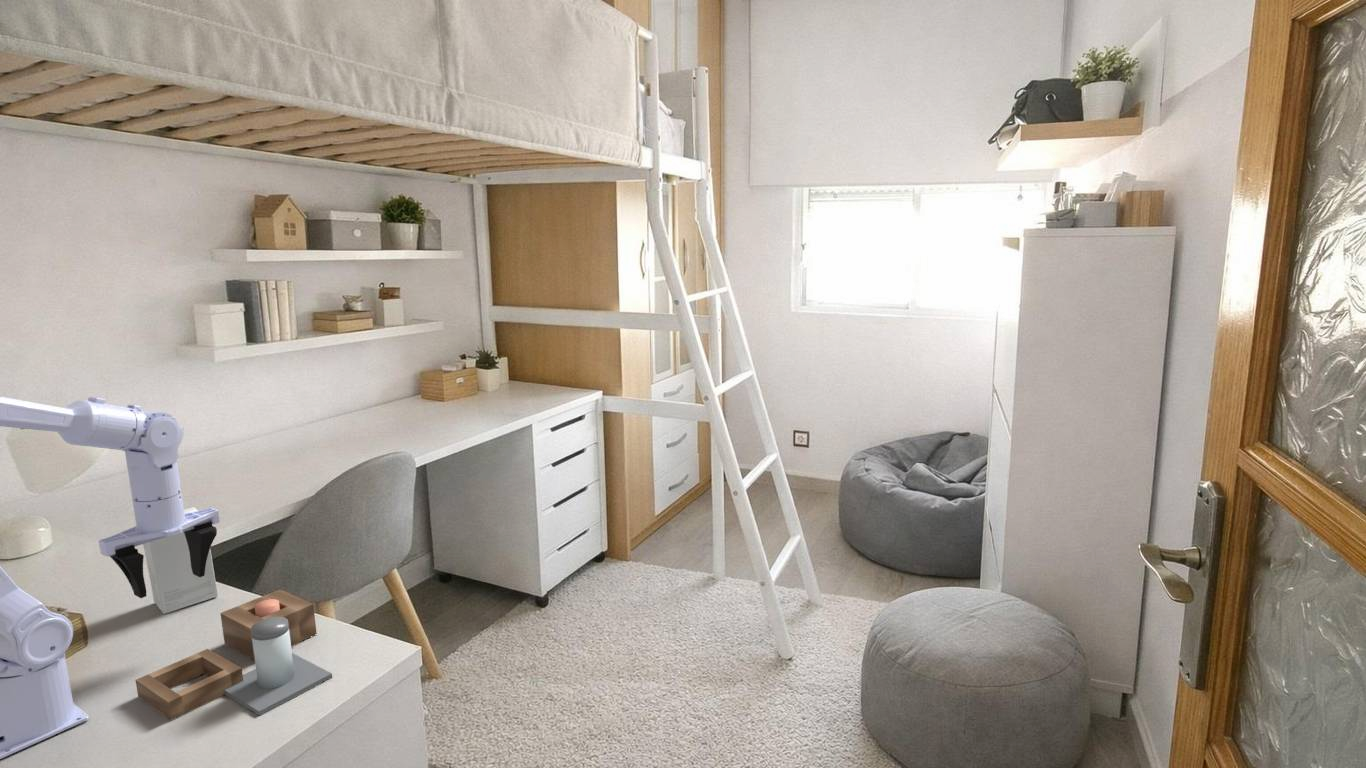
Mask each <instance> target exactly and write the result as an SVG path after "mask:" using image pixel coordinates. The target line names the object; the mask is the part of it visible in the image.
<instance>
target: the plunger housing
mask: <svg viewBox="0 0 1366 768" xmlns="http://www.w3.org/2000/svg"><path fill="white" fill-rule="evenodd" d="M269 599H276V600H278V601H279V606H280V610H279V611H276V612H274V613H272V614H269V615H267V616H264V617H262V618H261V617H259V616H257V615H256V614H255V605H256V604H257V603H259V602H261V601H264V600H269ZM219 615H220V619H221V620H220V621H221V627H222V629H221V630H222V634H223V635H222V636H223V641H224V645H225V646H227V647H229V648H231V649H233V650H234V651H236V652H238V653H240V654H242V655H244V656H245V657H247V658H249V659H250V660H253V661H254V662H255V658H254V650H253V642H252V634H251V627H252V626H253V625H254V624H255V623H257V622H259V621H261V620H263V619H267V618H271V617H284V618H286V619H288V624H289V633H290V641H291V647H293V646H295V645H297V644H299V643H301V642H300V641H302V640H304V639H306V640H308V639H310V638H312V637H314V636H316V635H315V634H317V625H316V616H315V615H316V614H315V607H314V603H312V602H310V601H308V600H305V599H303V598H300V597H298V596H296V595H294V594H291V593H290V592H287V591H285V590H282V589H278V590H275V591H273V592H272V591H271V592H270V593H267V594H265V595H262V596H260V597H257V598H255V599H252V600H250V601H248V602H245V603H242V604H239V605H237V606H235V607H232V608H229V609H227V610H225V611H222V612H220V613H219ZM313 635H314V636H313ZM311 636H312V637H311ZM309 637H310V638H309ZM307 638H308V639H307ZM304 641H305V640H304ZM298 642H299V643H298ZM302 642H303V641H302ZM294 644H295V645H294Z"/></svg>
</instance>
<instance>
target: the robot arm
mask: <svg viewBox="0 0 1366 768" xmlns="http://www.w3.org/2000/svg"><path fill="white" fill-rule="evenodd" d="M0 427H4V428H13V429H14V428H15V429H22V430H23V429H24V430H25V429H26V430H35V431H42V432H46V431H47V432H55V433H58V435H59V436H60V437H61V439H62V440H63V441H64V442H65V443H66V444H69V445H71V446H82V447H83V446H84V447H89V448H90V447H91V448H101V449H108V450H117V451H118V450H119V451H122V452H124V453H125V454H124V455H125V461H126V462H125V463H126V467H127V472H128V480H129V486H130V493H131V499H132V500H131V501H132V507H133V513H134V520H135V526H133V527H131V528H128V529H125V530H123V531H121V532H119V533H116V534H114V535H111V536H108V537H106V538H101V539H99V540H98V545H99V550H100V551H99V552H100V554H101V555H103V556H105V557H107V558H108V557H110V558H111V560H113V562H115V564H116V565H117V566H118V568H120V570H121V571H122V574H124V575H125V578H126V579H127V581H128V582H129V585H130V586H131V589H132V591H133V595H134V596H136V597H138V598H139V599H143V598H145V597H146V598H147V588H146V587H147V586H146V583H145V582H146V581H145V577H144V576H145V575H144V556H145V555H144V554H141V553H140V552H139V550H138V549H139V548H136V547H138V546H141V545H142V546H143V544H145V543H148V542H152V541H155V540H158V539H161V538H165V537H169V536H173V535H177V534H180V533H182V532H184V534H185V537H186V540H187V544H188V548H189V552H190V561H191V568H192V572H193V574H194V575H196V576H198V577H202V576H204V575H205V567H206V561H207V557H208V553H209V550H211V547H212V544H213V542H214V541H215V538H216V537H217V533H218V532H217V531H218V530H217V527H216V526H213V525H215V524H220V522H221V520H220V519H221V518H220V513H219V511H220V510H218V509H216V508H213V507H210V508H206V509H202V510H198V511H196V512H191V513H186V514H184V510H185V508H184V501H183V494H182V486H181V479H180V472H179V465H178V459H179V458H180V457H179V446H180V445H181V443H182V441H183V438H184V434H185V433H184V432H185V431H184V427H181V426H180V425H179V423H178V420H177V419H176V418H175V417H173V415H171V414H169V413H166V412H160V411H153V410H152V411H151V410H142V406H140V405H135V404H128V405H127V407H126V406H120V405H115V404H110V403H109V404H108V403H106V399H105V398H101V397H93V396H88V398H87V400H85V399H81V400H79V399H78V400H76V401H73V402H71V403H69V404H67V405H66V406H65V407H61V406H55V405H49V404H44V403H40V402H39V403H38V402H33V401H28V400H24V399H17V398H12V397H5V396H2V395H1V396H0ZM73 637H74V627H73V624H72V622H71V620H70V619H69V618H68V617H66V616H65V615H63V614H60V613H56V612H52V611H50V609H48V608H47V607H46V605H44V603H43V602H41V600H38V599H37V598H36V597H34V596H32V595H30V594H29V593H27V592H26V591H24V590H23V589H21V588H20V587H19V586H18V585H17V584H16V583H15V582H14V580H13V579H12V578H11V577H10V575H9V574H7V572H6V571H5V570H4V569H3V568H2V567H1V565H0V760H1V759H4V758H6V757H8V756H10V755H13V754H14V753H16V752H20V751H22V750H24V749H26V748H28V747H30V746H32V745H33V746H34V744H37V743H39V742H41V741H44V740H46V739H48V738H50V737H53V736H55V735H56V734H57V735H58V734H60V733H61V732H64V731H66V730H68V729H70V728H73V727H75V726H78V725H80V724H82V723H84V722H86V721H88V720H89V717H90V716H89V714H88V713H86V712H85V711H84V710H83V709H81V708H80V707H79V706H77V705H76V704H75V703H74V700H73V694H72V688H71V683H70V677H69V671H68V666H67V661H66V652H67V650H68V649H69V647H70V645H71V643H72V641H73Z"/></svg>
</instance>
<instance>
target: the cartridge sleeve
mask: <svg viewBox="0 0 1366 768" xmlns="http://www.w3.org/2000/svg"><path fill="white" fill-rule="evenodd" d="M203 674H205V675H206V676H208V677H206V678H203V679H202V680H199V681H197V682H195V683H193V684H190V685H189V686H186V687H184V688H182V689H180V690H178V691H175V690H173V689H172V688H174V687H177V686H179V685H181V684H184V683H185V682H187V681H190V680H193V679H194V678H196V677H199V676H201V675H203ZM243 675H244V674H243V669H242V667H241V666H239V665H237V664H235V663H234V662H231V661H230V660H229V659H227V658H224V657H223V656H222V655H219V654H217V653H216V652H214V651H212V650H211V649H208V648H206V649H204V650H202V651H199V652H197V653H195V654H192V655H189V656H188V657H186V658H183V659H181V660H179V661H176V662H174V663H171V664H169V665H166V666H165V667H163V668H159V669H158V670H155V671H152V672H150V673H148V674H145V675H143V676H142V677H141V676H140V677H139V678H137V679H135V686H136V691H137V692H136V693H137V697H138V698H139V699H141V700H142V701H143V702H145V703H146V704H148V705H149V706H151V707H152V708H153V709H154V710H156V711H157V712H159V713H160V714H162V715H163V716H165V717H166V718H168V719H169V720H170V721H173V720H174V719H176V718H179V717H180V716H183V715H184V714H186V713H188V712H191V711H193V710H195V709H197V708H199V707H202V706H203V705H205V704H207V703H209V702H212V701H213V700H215V699H218V698H219V697H221V696H224V695H225V693H224V690H225V689H227V688H229V687H231V686H234V685H236V684H238V683H240V682H242V681H243Z"/></svg>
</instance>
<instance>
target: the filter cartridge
mask: <svg viewBox="0 0 1366 768" xmlns="http://www.w3.org/2000/svg"><path fill="white" fill-rule="evenodd" d="M251 634H252V642H253V650H254V658H255V661H254V663H255V664H254V665H255V669H256V674H257V682H258V686H259V687H261V688H265V689H271V688H276V687H280V686H282V685H285V684H287V683H288V682H290V681H291V680H292V679H293V678H294V667H293V659H292V653H293V652H292V646H291V641H290V633H289V624H288V619H286V618H284V617H271V618H267V619H263V620H261V621H259V622H257V623H255V624H254V625H253V626H252V627H251Z"/></svg>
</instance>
